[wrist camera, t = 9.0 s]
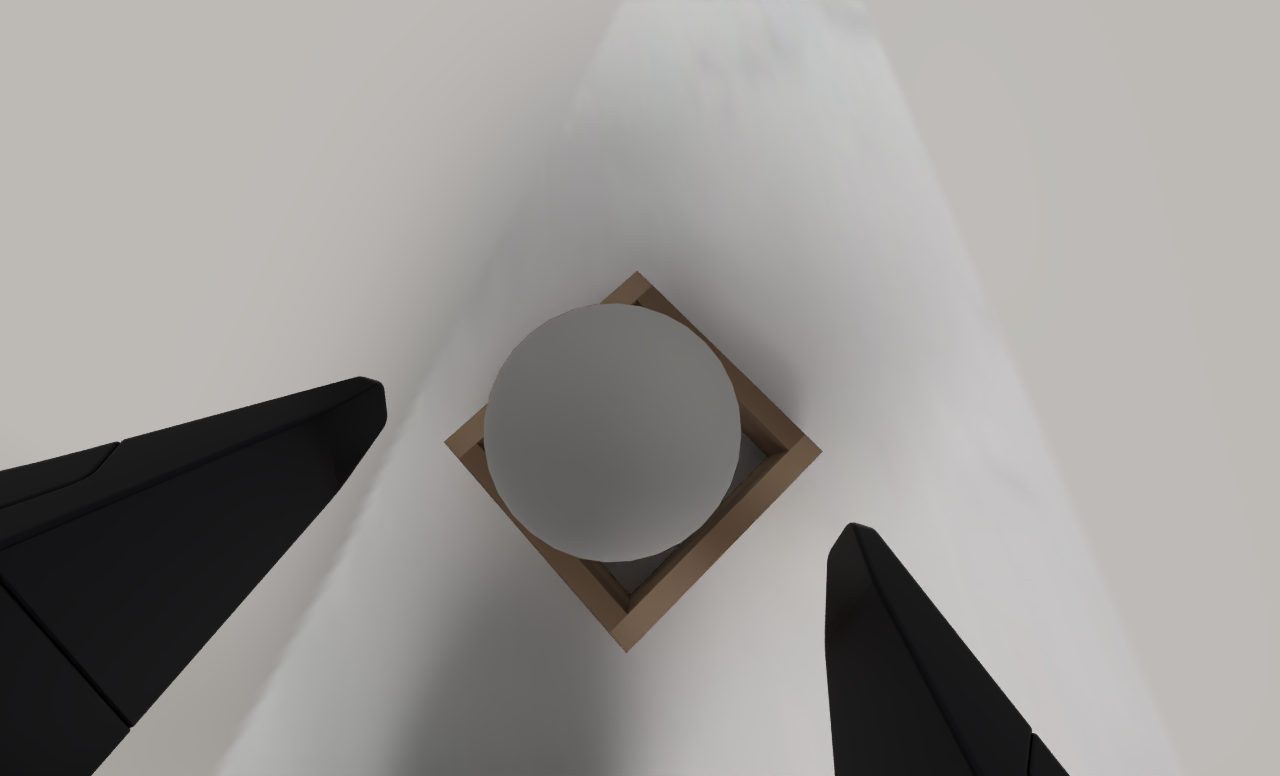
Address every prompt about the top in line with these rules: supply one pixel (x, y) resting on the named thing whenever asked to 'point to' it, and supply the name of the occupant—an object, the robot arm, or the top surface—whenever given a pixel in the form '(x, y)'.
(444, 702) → the top surface
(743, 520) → the frame
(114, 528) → the robot arm
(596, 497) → the lightbulb
